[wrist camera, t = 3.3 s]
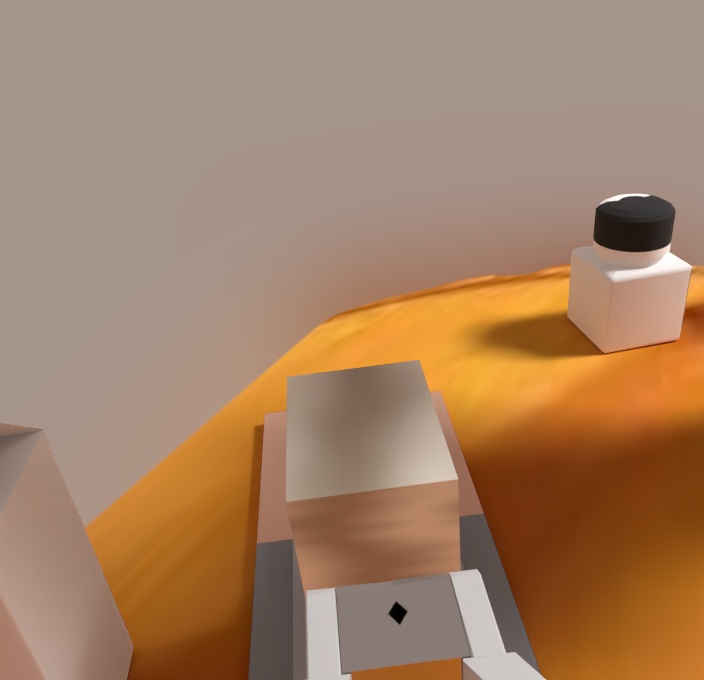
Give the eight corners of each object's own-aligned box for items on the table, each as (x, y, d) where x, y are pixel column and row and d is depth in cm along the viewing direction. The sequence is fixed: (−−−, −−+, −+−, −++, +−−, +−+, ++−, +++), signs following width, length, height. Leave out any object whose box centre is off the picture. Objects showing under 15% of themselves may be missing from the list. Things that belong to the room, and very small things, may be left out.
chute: (440, 401, 52) (439, 369, 51) (562, 749, 29) (566, 710, 27) (266, 424, 52) (260, 392, 51) (246, 794, 29) (233, 756, 27)
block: (431, 572, 36) (418, 360, 30) (464, 714, 29) (458, 479, 23) (324, 587, 36) (287, 377, 29) (332, 732, 29) (285, 502, 22)
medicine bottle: (681, 341, 56) (704, 207, 50) (603, 355, 56) (617, 221, 50) (636, 305, 63) (652, 182, 57) (565, 318, 62) (574, 194, 56)
